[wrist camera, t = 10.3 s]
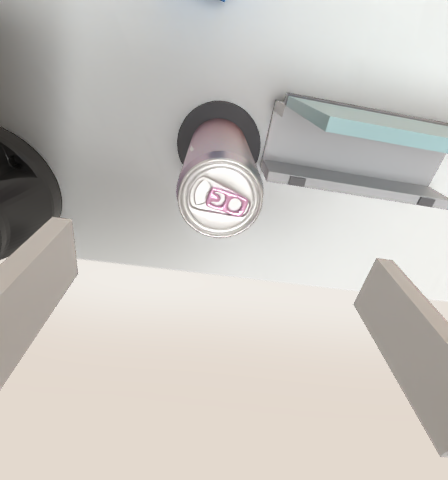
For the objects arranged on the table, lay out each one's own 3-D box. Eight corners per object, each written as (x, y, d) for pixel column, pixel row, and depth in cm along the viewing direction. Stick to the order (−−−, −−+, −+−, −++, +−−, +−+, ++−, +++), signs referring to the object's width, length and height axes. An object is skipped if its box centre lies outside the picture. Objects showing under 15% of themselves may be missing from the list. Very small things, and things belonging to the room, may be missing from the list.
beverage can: (233, 180, 34) (244, 250, 21) (184, 162, 33) (163, 225, 20) (254, 129, 32) (281, 175, 19) (201, 108, 30) (190, 140, 18)
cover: (325, 131, 17) (331, 112, 16) (283, 104, 27) (286, 92, 26) (630, 186, 19) (644, 170, 18) (482, 141, 29) (488, 130, 28)
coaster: (174, 178, 35) (174, 179, 34) (181, 93, 30) (181, 93, 30) (250, 190, 35) (250, 191, 35) (268, 109, 31) (269, 109, 31)
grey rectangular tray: (260, 166, 34) (266, 181, 30) (275, 99, 31) (285, 105, 26) (421, 192, 36) (450, 210, 32) (452, 132, 33) (490, 143, 28)
